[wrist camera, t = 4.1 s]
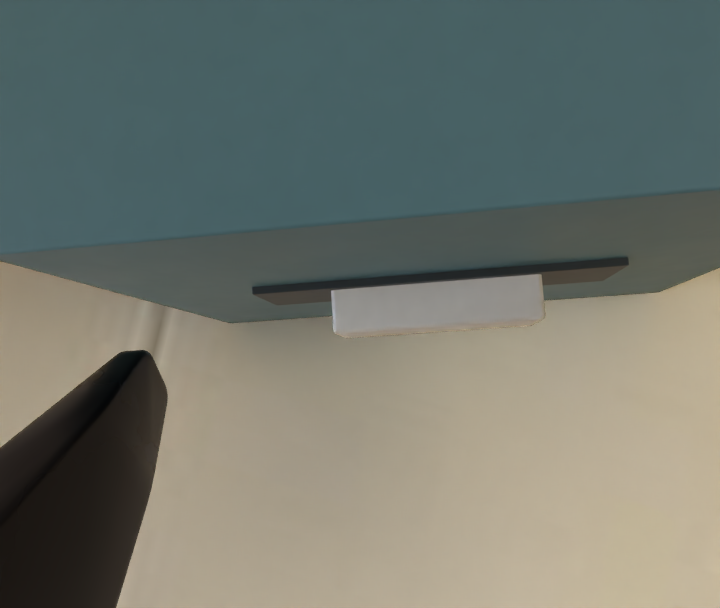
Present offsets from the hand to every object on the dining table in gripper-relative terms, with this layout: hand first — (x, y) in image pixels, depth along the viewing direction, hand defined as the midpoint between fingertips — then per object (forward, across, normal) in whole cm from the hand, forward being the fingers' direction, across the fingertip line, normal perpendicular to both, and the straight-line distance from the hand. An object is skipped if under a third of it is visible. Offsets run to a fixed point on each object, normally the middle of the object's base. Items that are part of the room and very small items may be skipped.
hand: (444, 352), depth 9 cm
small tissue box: (+9, 0, +3) cm, 9 cm away
